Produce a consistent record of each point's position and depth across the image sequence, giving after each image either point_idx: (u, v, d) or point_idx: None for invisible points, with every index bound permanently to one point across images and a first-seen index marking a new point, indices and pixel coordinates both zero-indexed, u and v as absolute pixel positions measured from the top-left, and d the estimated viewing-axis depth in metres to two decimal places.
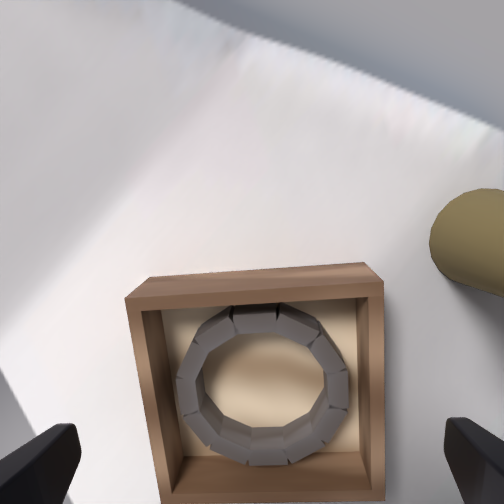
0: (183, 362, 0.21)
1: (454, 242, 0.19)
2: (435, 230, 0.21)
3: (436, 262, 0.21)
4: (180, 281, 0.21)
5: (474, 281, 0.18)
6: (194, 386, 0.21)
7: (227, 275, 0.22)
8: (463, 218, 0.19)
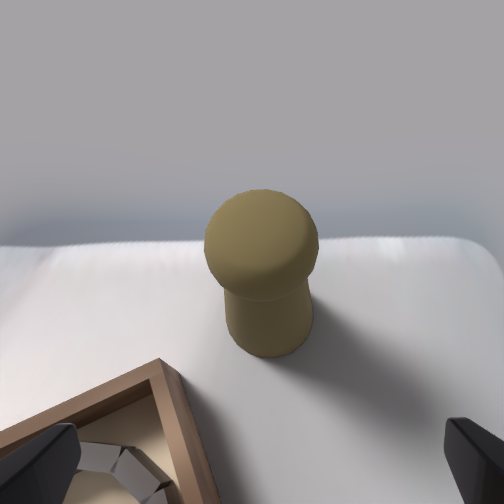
0: None
1: (226, 313, 0.22)
2: (226, 319, 0.23)
3: (240, 345, 0.23)
4: None
5: (247, 332, 0.20)
6: None
7: None
8: None
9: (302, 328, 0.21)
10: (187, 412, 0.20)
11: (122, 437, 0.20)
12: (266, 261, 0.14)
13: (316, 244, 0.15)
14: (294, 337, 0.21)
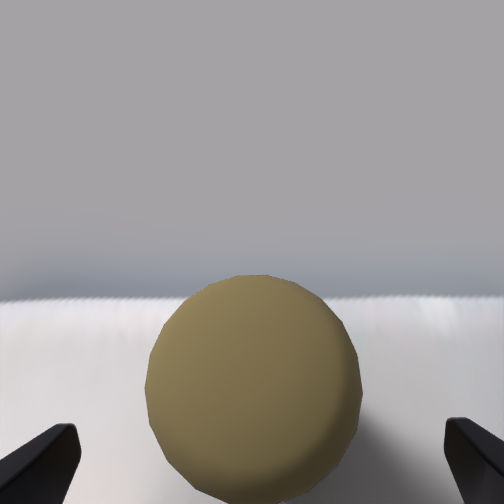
0: None
1: None
2: None
3: None
4: None
5: None
6: None
7: None
8: None
9: None
10: None
11: None
12: (261, 458, 0.06)
13: (360, 395, 0.08)
14: None
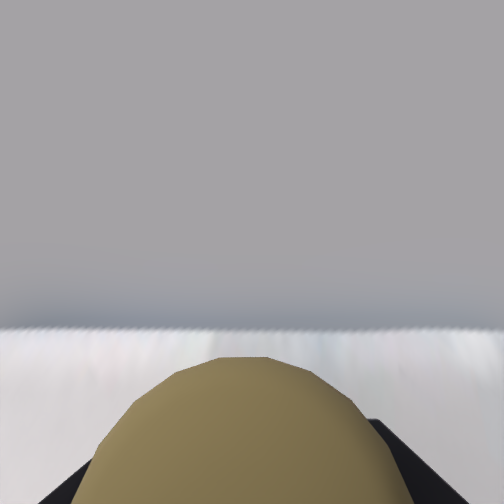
0: None
1: None
2: None
3: None
4: None
5: None
6: None
7: None
8: None
9: None
10: None
11: None
12: None
13: None
14: None
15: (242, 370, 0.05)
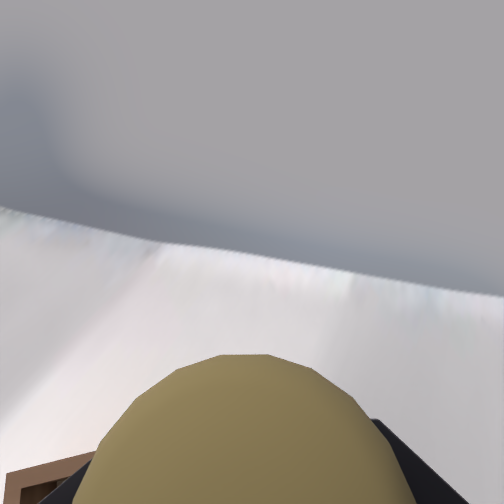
0: None
1: None
2: None
3: None
4: None
5: None
6: None
7: None
8: None
9: None
10: None
11: None
12: None
13: None
14: None
15: (243, 367, 0.05)
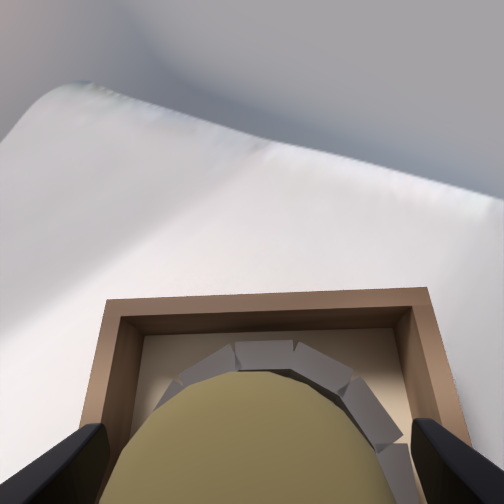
0: None
1: None
2: None
3: None
4: None
5: None
6: None
7: None
8: None
9: None
10: None
11: None
12: None
13: None
14: None
15: (247, 385, 0.06)
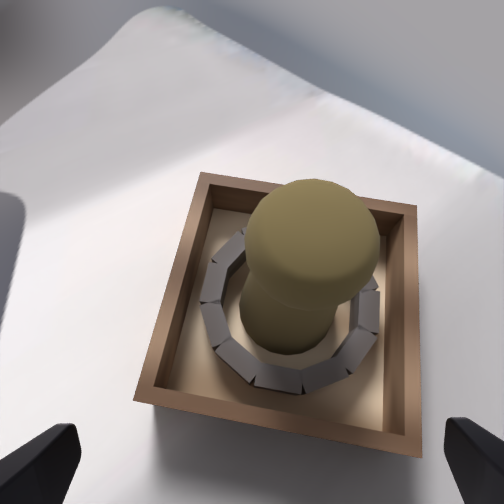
0: (223, 247, 0.21)
1: (243, 299, 0.20)
2: (239, 303, 0.22)
3: (250, 335, 0.21)
4: None
5: (263, 327, 0.18)
6: (224, 273, 0.21)
7: None
8: (247, 278, 0.20)
9: (322, 333, 0.19)
10: None
11: None
12: (320, 271, 0.11)
13: (377, 259, 0.13)
14: (311, 341, 0.19)
15: (324, 181, 0.13)
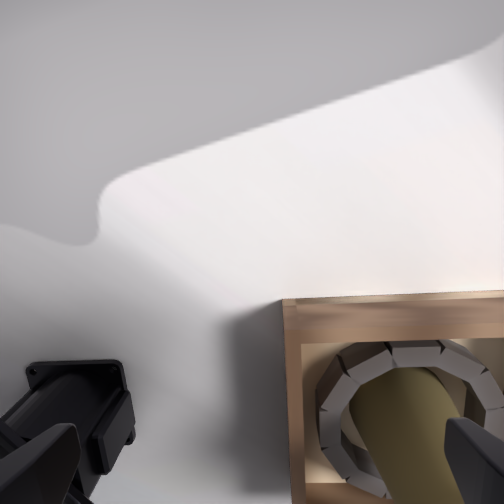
0: (461, 357, 0.18)
1: (401, 392, 0.19)
2: None
3: None
4: None
5: (376, 427, 0.18)
6: (428, 365, 0.19)
7: None
8: (425, 389, 0.19)
9: None
10: None
11: None
12: None
13: None
14: None
15: None
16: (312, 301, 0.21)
